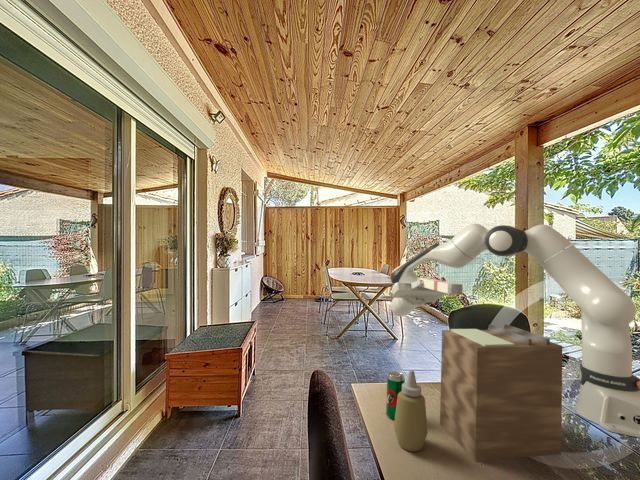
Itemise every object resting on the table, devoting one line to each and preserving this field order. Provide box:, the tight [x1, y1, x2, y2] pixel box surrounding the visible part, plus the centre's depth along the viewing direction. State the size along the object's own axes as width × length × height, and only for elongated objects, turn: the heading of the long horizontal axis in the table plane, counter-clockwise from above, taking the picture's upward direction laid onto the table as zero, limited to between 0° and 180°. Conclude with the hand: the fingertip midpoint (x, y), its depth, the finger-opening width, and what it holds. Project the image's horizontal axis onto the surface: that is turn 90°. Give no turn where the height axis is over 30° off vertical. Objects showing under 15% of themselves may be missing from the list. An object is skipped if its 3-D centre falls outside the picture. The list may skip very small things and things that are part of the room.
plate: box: [450, 328, 515, 346], centre depth 80 cm, size 14×8×1 cm, turn 9°
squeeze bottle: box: [393, 370, 428, 452], centre depth 76 cm, size 8×8×18 cm
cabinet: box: [439, 323, 563, 462], centre depth 80 cm, size 15×23×28 cm, turn 99°
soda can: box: [385, 371, 406, 420], centre depth 89 cm, size 5×5×12 cm
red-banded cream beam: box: [417, 276, 463, 296], centre depth 103 cm, size 22×4×3 cm, turn 9°
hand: (428, 281), depth 109 cm, fingers closed on red-banded cream beam, 3 cm apart
